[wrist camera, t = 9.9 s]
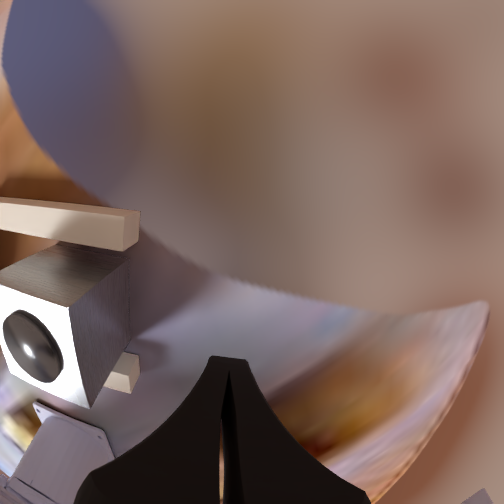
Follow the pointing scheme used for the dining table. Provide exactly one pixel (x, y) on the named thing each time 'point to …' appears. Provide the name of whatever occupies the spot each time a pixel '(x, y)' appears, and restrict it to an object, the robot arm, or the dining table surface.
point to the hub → (65, 320)
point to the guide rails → (80, 232)
